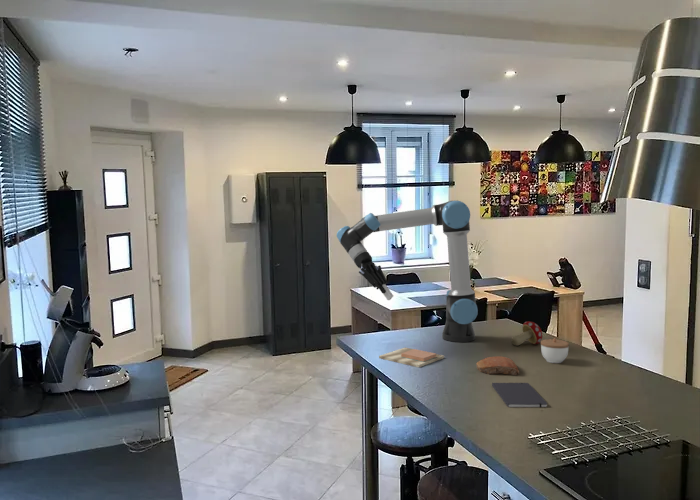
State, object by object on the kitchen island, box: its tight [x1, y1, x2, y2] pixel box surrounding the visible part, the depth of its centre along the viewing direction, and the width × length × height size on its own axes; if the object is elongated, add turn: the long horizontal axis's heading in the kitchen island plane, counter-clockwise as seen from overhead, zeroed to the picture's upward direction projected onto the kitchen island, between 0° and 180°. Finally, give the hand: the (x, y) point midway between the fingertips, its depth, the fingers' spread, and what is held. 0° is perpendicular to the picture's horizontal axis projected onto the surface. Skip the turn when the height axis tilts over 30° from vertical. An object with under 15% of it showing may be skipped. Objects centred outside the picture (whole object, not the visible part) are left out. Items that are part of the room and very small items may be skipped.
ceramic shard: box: [476, 355, 520, 376], centre depth 226 cm, size 15×6×15 cm
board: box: [378, 347, 445, 368], centre depth 243 cm, size 20×18×1 cm
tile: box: [401, 348, 437, 362], centre depth 240 cm, size 2×9×11 cm
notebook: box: [491, 382, 548, 408], centre depth 197 cm, size 13×2×21 cm
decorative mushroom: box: [511, 321, 543, 347], centre depth 264 cm, size 11×11×15 cm
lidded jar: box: [540, 337, 570, 364], centre depth 237 cm, size 11×11×9 cm
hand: (390, 298), depth 248 cm, fingers closed
